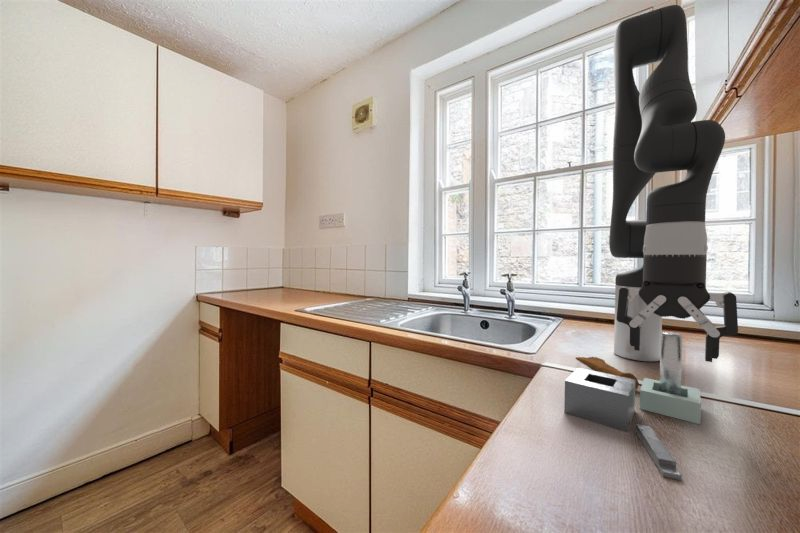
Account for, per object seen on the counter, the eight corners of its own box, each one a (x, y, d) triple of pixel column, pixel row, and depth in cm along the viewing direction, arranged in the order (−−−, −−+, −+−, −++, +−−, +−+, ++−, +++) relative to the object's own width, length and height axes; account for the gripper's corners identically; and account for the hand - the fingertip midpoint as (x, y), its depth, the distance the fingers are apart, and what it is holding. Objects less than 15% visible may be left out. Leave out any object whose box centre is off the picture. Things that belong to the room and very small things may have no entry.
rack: (643, 394, 55) (644, 377, 55) (698, 407, 51) (699, 389, 50) (639, 408, 50) (640, 390, 50) (700, 424, 45) (701, 403, 45)
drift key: (635, 432, 43) (636, 424, 43) (650, 435, 43) (650, 426, 43) (663, 476, 34) (663, 465, 34) (681, 480, 34) (681, 469, 34)
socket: (577, 395, 55) (578, 367, 55) (634, 411, 49) (635, 379, 49) (564, 412, 49) (564, 380, 49) (627, 431, 43) (628, 395, 43)
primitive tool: (574, 359, 76) (574, 344, 76) (598, 360, 75) (599, 346, 75) (618, 393, 57) (619, 374, 57) (651, 395, 56) (652, 376, 56)
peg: (659, 402, 52) (661, 330, 52) (680, 408, 50) (682, 333, 50) (658, 408, 50) (660, 333, 50) (680, 413, 48) (682, 336, 48)
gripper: (736, 252, 48) (733, 359, 48) (622, 253, 57) (620, 342, 58) (743, 252, 42) (739, 372, 43) (615, 252, 52) (613, 350, 52)
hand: (670, 354), depth 50 cm, fingers open, 8 cm apart
